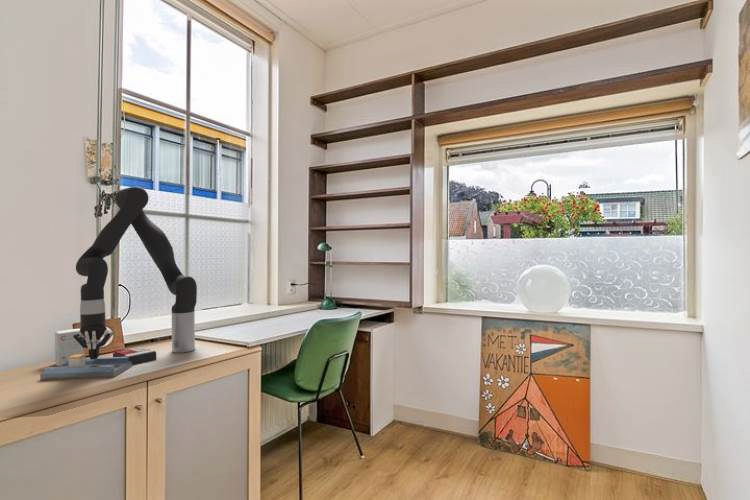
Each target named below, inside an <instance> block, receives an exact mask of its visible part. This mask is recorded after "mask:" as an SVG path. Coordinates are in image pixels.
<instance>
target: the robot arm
mask: <svg viewBox="0 0 750 500" xmlns="http://www.w3.org/2000/svg"><path fill="white" fill-rule="evenodd" d="M114 199H115V200H114V201H115V202H116V205H117V207H118V208H119V210H118V211H117V212H116V214H115V215H114V216H113V217H112V218H111V220H110V221H108V222H107V223H106V224H105V226H104V227H103V228H102V229H101V230H100V232H99V234H98V235H97V236H96V238H95V240H94V241H93V243H92V245H91V246H90V247H88V249H86V251H85V252H83V254H82V255H81V256H79V258H78V260H77V261H76V264H75V271H76V273H77V274H78V275H79V276H81V277H87V278H86V279H87V280H86V282H85V283H84V284H82V285H81V286H80V303H79V304H80V305H79V314H80V315H79V317H80V318H79V319H80V328H79V329H80V332H79V333H77V334H75V335H74V336H73V337H74V338H75V339H76V341H77V342H78V343H79V344H80V345H81V346H82V347H83V348H84V349H87V350H88V358H90V359H97V358H100V348H101V347H104V346H105V345H107V343H108V342H109V340H110V339H111V338H112V337H113V335H114V332H113V331H109V330H108V329H107V326H106V322H107V321H106V303H105V302H106V301H105V284H106V281H107V277H108V274H109V265H108V263H107V261H106V260H105V258H106V257H109V256H111V255H112V254H113V253H114V251H115V250H116V248H117V246H118V245H119V243H120V241H121V240H122V238H123V236H124V235H125V233H126V231H127V230H128V229H129V227H130V226H132V227H133V230H134V231H135V233H136V234H137V236H138V237H139V239H140V240H141V242H142V245H143V246H144V248H145V250H146V251H147V253H148V255H149V256H150V258H152V259H151V260H152V261H153V262H154V264H155V266H156V267H157V268H158V270H159V272H160V274H161V275H162V278H163V280H164V282H165V285H166V286H167V289H168V291H169V292H170V293H171V294H172V295H174V296H175V302H174V304H173V305H172V306H171V352H172V353H175V354H177V353H179V354H181V353H188V352H193V351H194V350H195V349H196V346H195V345H196V344H195V343H196V341H195V339H196V334H195V333H196V332H195V331H196V330H195V327H196V325H195V323H196V321H195V317H196V315H195V311H196V310H195V309H196V305H197V301H198V300H197V298H198V296H197V295H198V286H197V285H198V284H197V281H196V280H195V278H194V277H192V276H189V275H184V274H183V273H182V272H181V270H180V268H179V267H178V265H177V262H176V261H175V253H174V248H173V246H172V244H171V241H170V240H169V238H168V237H167V235H166V233H165V232H164V231H163V230H162V229H161V228H160V227H159V226H157V225H156V224H155V223H154V222H153V221H152V220H151V219H150V218H149V217H148V216H147V214H146V213H145V211H144V209H145V207H146V206H147V205H148V202H149V199H150V197H149V194H148V191H146V190H145V188H143V187H140V186H130V187H127V188H126V187H125V188H123V189H119V190H118V191H117V192H116V193H115V197H114ZM102 337H103V338H102Z"/></svg>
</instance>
